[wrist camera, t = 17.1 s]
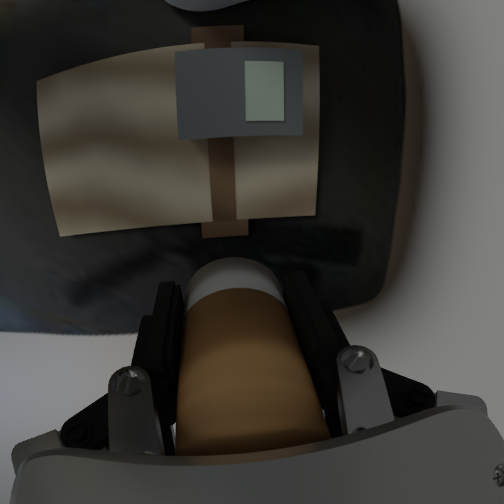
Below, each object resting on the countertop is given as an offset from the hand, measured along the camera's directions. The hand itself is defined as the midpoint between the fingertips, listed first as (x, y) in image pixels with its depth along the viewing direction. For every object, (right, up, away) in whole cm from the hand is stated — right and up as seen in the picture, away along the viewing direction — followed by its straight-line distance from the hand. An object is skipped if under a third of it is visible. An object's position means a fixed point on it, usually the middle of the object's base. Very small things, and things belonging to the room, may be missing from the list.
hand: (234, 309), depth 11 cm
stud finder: (0, +14, +8) cm, 16 cm away
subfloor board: (-6, +12, +10) cm, 17 cm away
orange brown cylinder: (0, 0, +1) cm, 1 cm away
